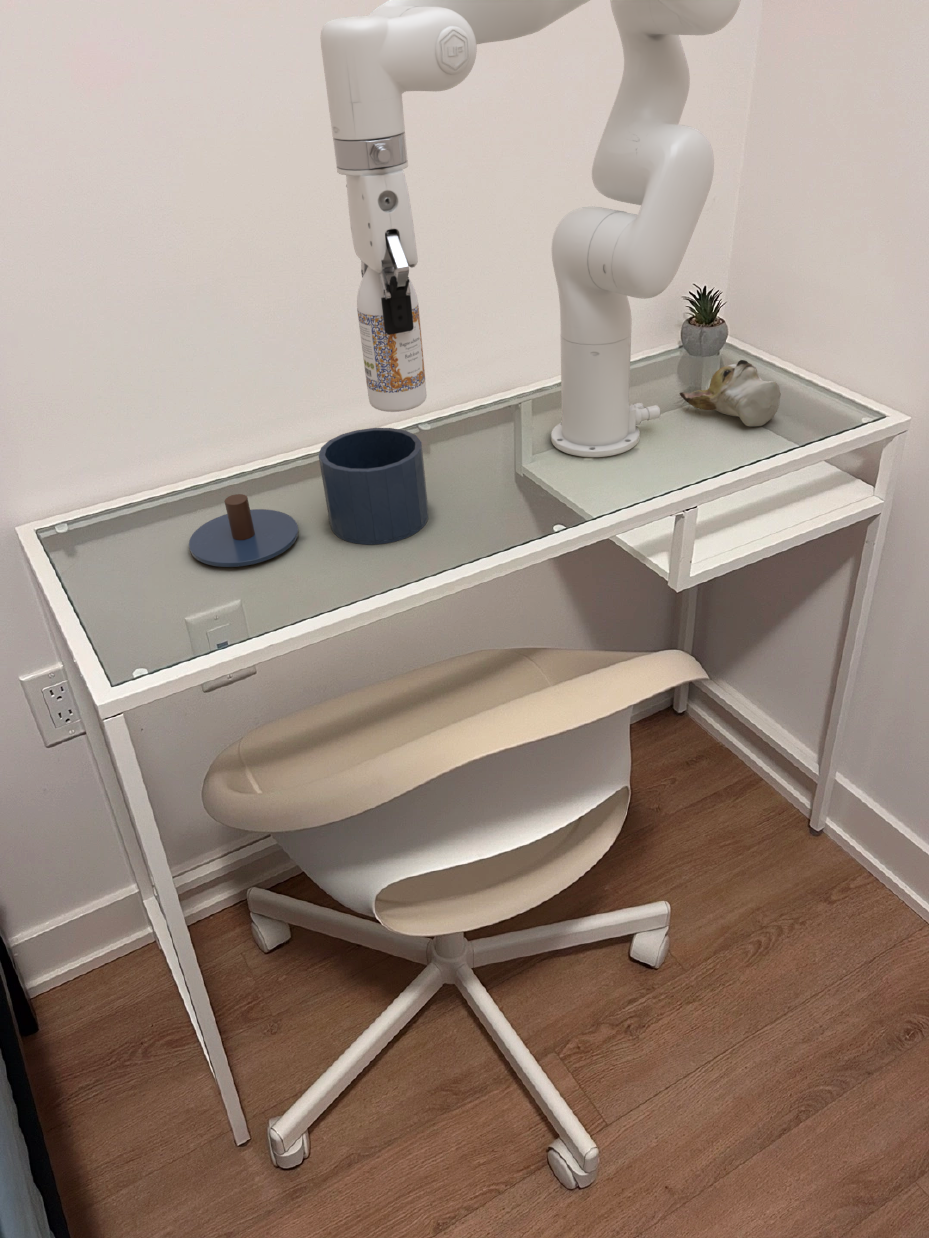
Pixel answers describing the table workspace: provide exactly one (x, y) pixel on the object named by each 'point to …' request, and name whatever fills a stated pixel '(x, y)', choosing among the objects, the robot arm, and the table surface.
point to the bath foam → (390, 351)
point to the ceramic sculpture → (738, 394)
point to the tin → (374, 485)
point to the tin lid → (243, 535)
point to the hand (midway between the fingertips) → (389, 321)
